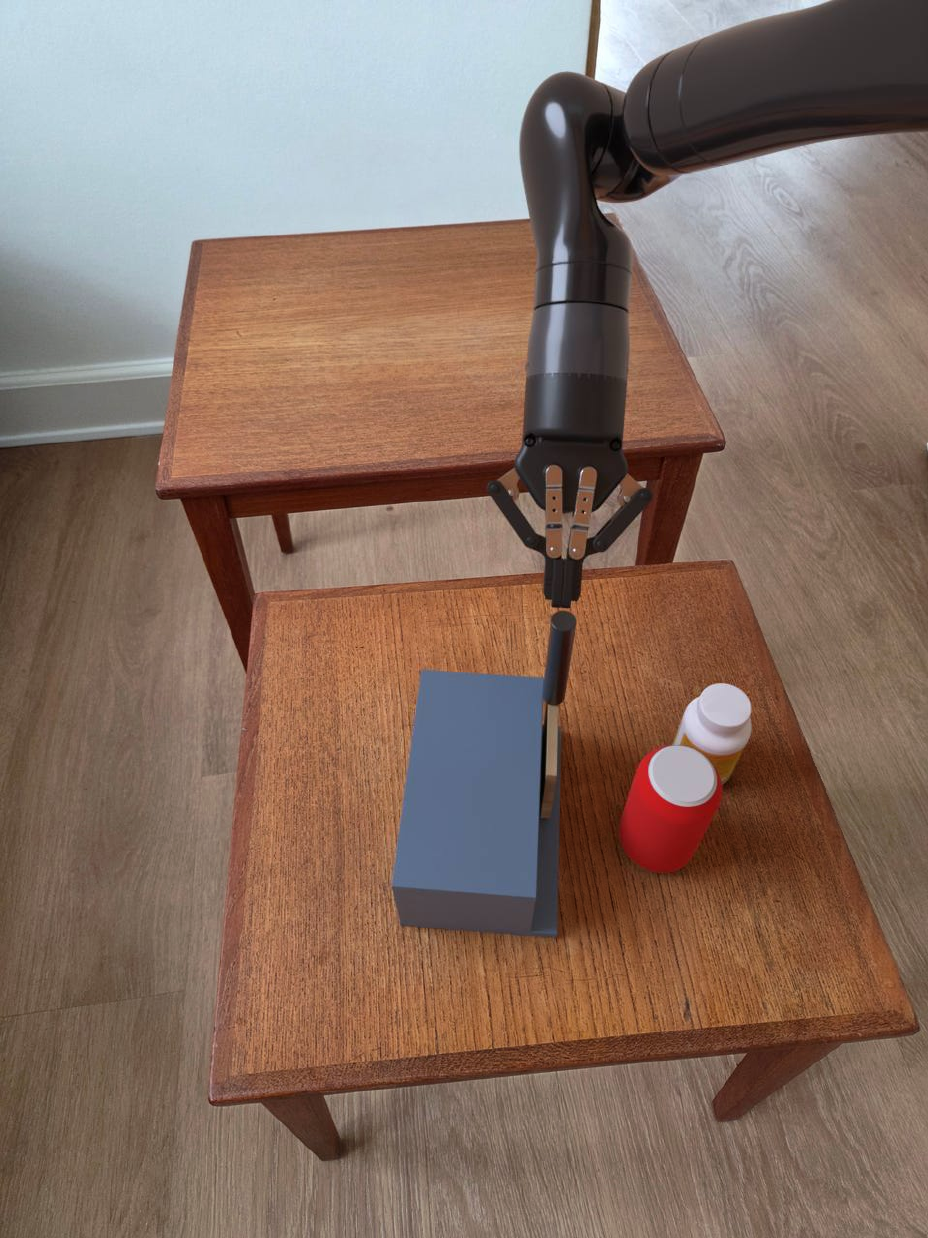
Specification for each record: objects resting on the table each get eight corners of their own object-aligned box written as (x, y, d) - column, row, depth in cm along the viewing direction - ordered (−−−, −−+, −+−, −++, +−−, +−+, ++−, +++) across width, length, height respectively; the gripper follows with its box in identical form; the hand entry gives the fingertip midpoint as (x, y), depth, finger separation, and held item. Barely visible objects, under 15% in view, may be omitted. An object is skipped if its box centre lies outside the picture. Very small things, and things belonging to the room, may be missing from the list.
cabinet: (560, 731, 76) (568, 678, 69) (556, 938, 65) (565, 900, 58) (426, 722, 76) (421, 669, 69) (400, 925, 66) (391, 886, 59)
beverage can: (670, 893, 67) (702, 831, 57) (602, 848, 69) (622, 781, 59) (706, 834, 70) (743, 765, 60) (640, 792, 72) (665, 720, 62)
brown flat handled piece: (557, 729, 74) (576, 604, 60) (556, 819, 69) (576, 705, 55) (537, 727, 74) (551, 602, 60) (534, 817, 69) (548, 704, 55)
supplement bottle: (737, 791, 72) (769, 734, 64) (673, 792, 72) (697, 735, 64) (724, 734, 75) (753, 674, 67) (663, 736, 75) (685, 675, 67)
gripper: (485, 364, 60) (472, 607, 62) (674, 372, 59) (654, 618, 62) (489, 379, 67) (478, 596, 70) (658, 387, 67) (640, 606, 69)
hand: (561, 606), depth 66 cm, fingers closed
